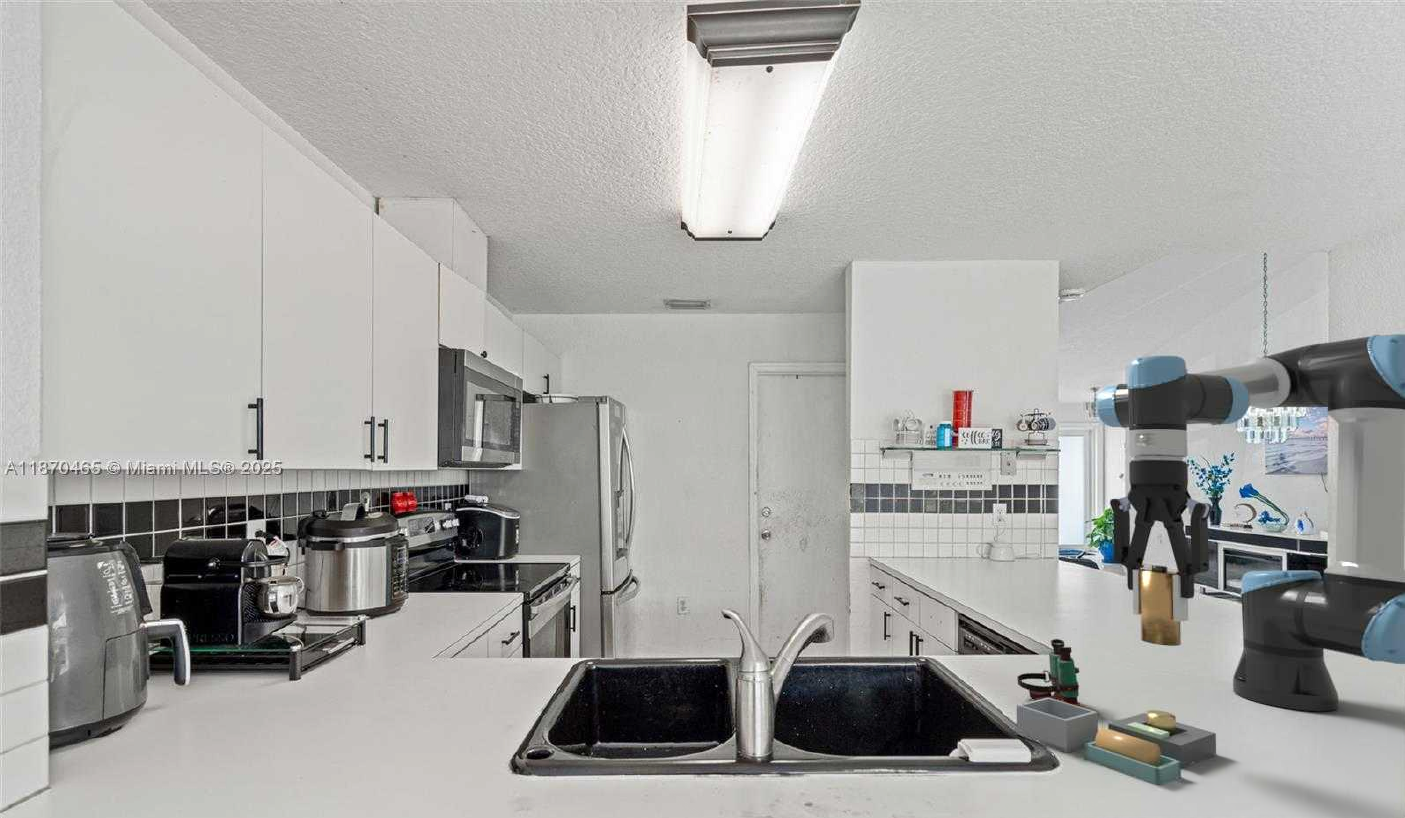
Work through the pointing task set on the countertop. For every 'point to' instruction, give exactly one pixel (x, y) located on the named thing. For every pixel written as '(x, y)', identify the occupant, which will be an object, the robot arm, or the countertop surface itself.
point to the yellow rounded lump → (1162, 721)
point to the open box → (1057, 724)
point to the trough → (1132, 757)
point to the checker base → (1170, 739)
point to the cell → (1158, 607)
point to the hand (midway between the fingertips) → (1160, 616)
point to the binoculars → (1056, 677)
